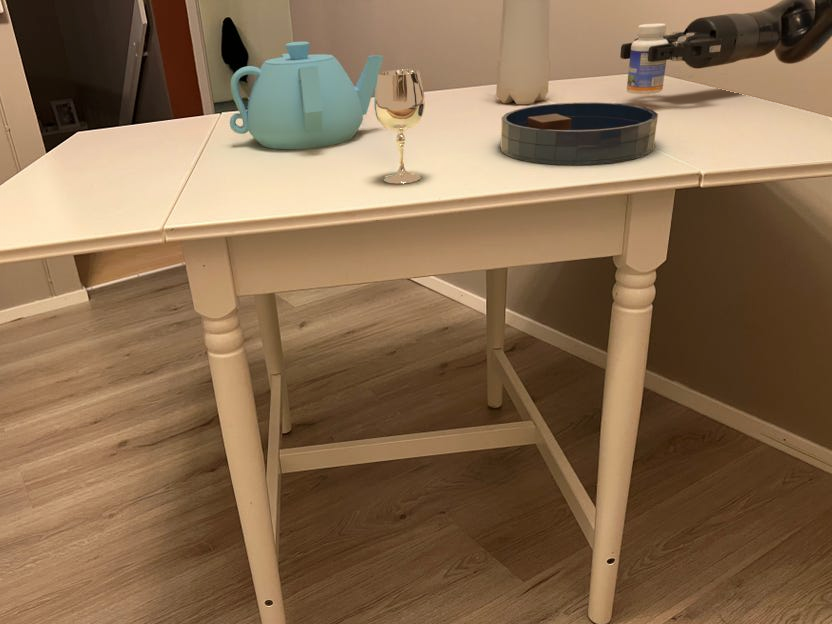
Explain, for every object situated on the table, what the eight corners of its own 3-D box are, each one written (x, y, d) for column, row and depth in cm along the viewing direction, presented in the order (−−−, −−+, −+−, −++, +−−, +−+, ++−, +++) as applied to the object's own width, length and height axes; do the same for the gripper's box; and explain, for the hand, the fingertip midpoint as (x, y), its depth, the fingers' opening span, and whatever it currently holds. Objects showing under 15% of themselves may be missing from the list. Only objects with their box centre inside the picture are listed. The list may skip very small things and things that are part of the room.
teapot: (315, 156, 98) (305, 48, 92) (217, 147, 109) (202, 50, 102) (389, 129, 112) (385, 34, 105) (297, 123, 122) (288, 36, 116)
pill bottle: (624, 89, 116) (630, 24, 111) (659, 88, 114) (667, 21, 110) (628, 95, 111) (635, 27, 106) (665, 93, 110) (673, 24, 105)
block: (553, 145, 93) (556, 113, 91) (569, 151, 89) (571, 118, 87) (525, 148, 92) (527, 117, 90) (540, 155, 89) (542, 122, 87)
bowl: (635, 128, 100) (638, 99, 98) (670, 161, 83) (675, 127, 82) (497, 134, 103) (498, 106, 101) (505, 167, 86) (506, 134, 84)
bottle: (527, 107, 120) (538, -103, 106) (485, 103, 126) (489, -96, 112) (558, 98, 125) (572, -102, 111) (515, 95, 131) (523, -96, 117)
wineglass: (433, 180, 83) (431, 72, 78) (387, 187, 82) (382, 77, 76) (415, 170, 88) (413, 67, 82) (372, 176, 87) (366, 72, 81)
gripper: (688, 13, 118) (606, 24, 113) (762, 15, 106) (674, 28, 101) (682, 62, 122) (602, 74, 117) (752, 69, 110) (667, 83, 105)
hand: (636, 53), depth 109 cm, fingers closed on pill bottle, 5 cm apart
